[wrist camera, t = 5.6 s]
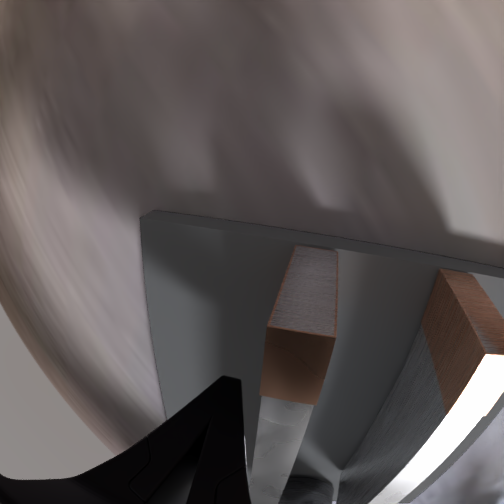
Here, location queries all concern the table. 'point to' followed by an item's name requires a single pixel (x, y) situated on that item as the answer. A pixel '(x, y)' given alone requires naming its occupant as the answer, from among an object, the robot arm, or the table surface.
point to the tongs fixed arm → (432, 394)
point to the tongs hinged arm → (295, 376)
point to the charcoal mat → (258, 314)
